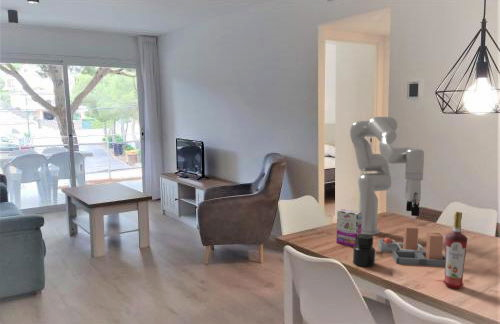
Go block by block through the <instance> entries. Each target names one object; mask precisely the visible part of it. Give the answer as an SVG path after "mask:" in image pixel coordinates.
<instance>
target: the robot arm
mask: <svg viewBox="0 0 500 324" xmlns="http://www.w3.org/2000/svg"><path fill="white" fill-rule="evenodd" d="M397 122H398V121H396V119H395V118H394V117H392V116H374V117H372V118H370V120H359V121H355V122H354V123H352V124H351V126H350V131H349V137H350V140H351V142H352V145H353V148H354V151H355V157H356V161H357V166H358V169H359V171H361V172H365V173H363V174H362V175H360V176H359V177H358V182H357V183H358V190H359V191H358V192H359V205H358V206H359V210H358V212H361V213H362V234H368V235H371V236H374V235H378V234H380V232H381V231H380V229H379V228H378V209H379V199H378V195H377V194H376V192H385V191H388V190H390V189H391V187H392V176H391V172H390V166H389V163H390V164H393V165H396V164H397V165H398V164H405V172H404V173H405V174H404V176H405V177H404V178H405V179H404V180H405V187H404V188H405V191H404V199H405V200H406V209H405V210H406V212H411V214H410V215H411V216H412V217H419V216H420V201H421V199H422V198H421V195H422V194H421V193H422V192H421V191H422V189H421V188H422V183H421V182H422V181H423V180H424V165H425V163H424V162H425V161H424V160H425V151H424V150H423V149H421V148H413V147H410V146H409V147H407V146H406V147H398V146H397V147H393V146H392V144H393V143H394V142H395V141H396V139H397V132H396V131H397V129H398V123H397ZM365 137H367V138H368V137H376V138H377V140H378V141H379V146H378V147H379V152H380V153H373V151H372V147H371V144H370V142H369V141H368V140H367V139H366V138H365ZM366 172H368V173H366ZM369 172H371V173H369ZM373 172H375V173H373Z"/></svg>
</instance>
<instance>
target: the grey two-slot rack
mask: <svg viewBox="0 0 500 324" xmlns="http://www.w3.org/2000/svg"><path fill="white" fill-rule="evenodd" d="M391 255H392V258H393V260H394V262H395V263H396V264H397V265H410V266H411V265H412V266H413V265H414V266H428V267H429V266H434V267H445V253H443V252H442V260H437V259H426V252H413V251H398V250H397V251H392V252H391Z"/></svg>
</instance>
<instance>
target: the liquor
mask: <svg viewBox="0 0 500 324" xmlns="http://www.w3.org/2000/svg"><path fill="white" fill-rule="evenodd" d="M462 218H463V212H461V211H454V212H453V225H452V230H451V232H449V233H447V234H445V236H444V238H445V239H444V240H445V245H444V255H445V266H444V279H443V280H442V283H444V284H445V286H447V288H450V289H454V290H456V289H460V288H462V287H463V286H464V282H463V278H464V271H465V270H464V269H465V268H464V267H465V263H466V262H465V260H466V255H467V245H468V239H469V238H468V237H467V236H466V235H465V234H462Z"/></svg>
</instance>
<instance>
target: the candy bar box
mask: <svg viewBox="0 0 500 324" xmlns="http://www.w3.org/2000/svg"><path fill="white" fill-rule="evenodd" d="M336 213H337V217H336V218H337V220H336V221H337V222H336V224H337V225H336V244H339V245H344V246H348V247H353V248H354V247H355V246H356V245H357V244H356V243H357V242H356V238H357V235H359V234H362V213H361V212H359V211H353V210H349V209H339V210H337V212H336Z"/></svg>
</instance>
